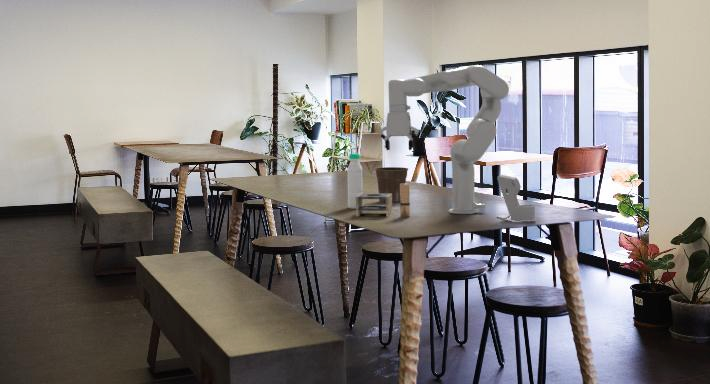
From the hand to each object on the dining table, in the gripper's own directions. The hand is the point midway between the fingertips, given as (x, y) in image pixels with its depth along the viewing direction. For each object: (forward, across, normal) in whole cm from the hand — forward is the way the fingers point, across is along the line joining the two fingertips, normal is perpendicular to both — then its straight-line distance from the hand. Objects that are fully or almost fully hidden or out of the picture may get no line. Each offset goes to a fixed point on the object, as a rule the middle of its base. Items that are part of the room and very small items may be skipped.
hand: (399, 149), depth 353 cm
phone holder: (+29, -48, +2) cm, 57 cm away
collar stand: (+28, +12, -3) cm, 31 cm away
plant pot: (+29, +16, -49) cm, 59 cm away
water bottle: (+28, +27, -23) cm, 45 cm away
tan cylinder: (+28, -2, +2) cm, 28 cm away
